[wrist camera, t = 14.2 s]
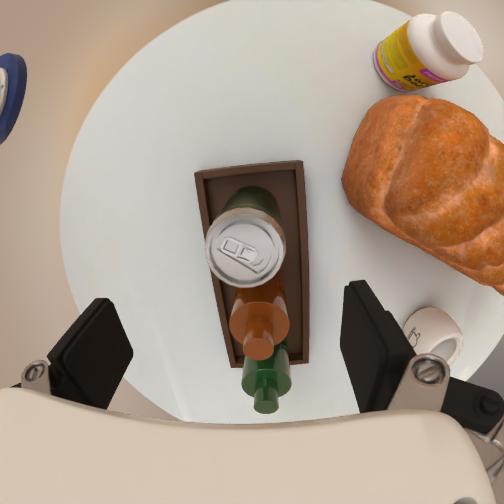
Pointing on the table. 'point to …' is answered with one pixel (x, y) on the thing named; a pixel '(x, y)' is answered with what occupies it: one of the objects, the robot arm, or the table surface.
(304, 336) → the tray
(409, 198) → the bread
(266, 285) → the amber bottle
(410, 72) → the supplement bottle
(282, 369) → the green bottle
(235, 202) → the beer can
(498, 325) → the table surface
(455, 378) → the robot arm
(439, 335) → the mug
